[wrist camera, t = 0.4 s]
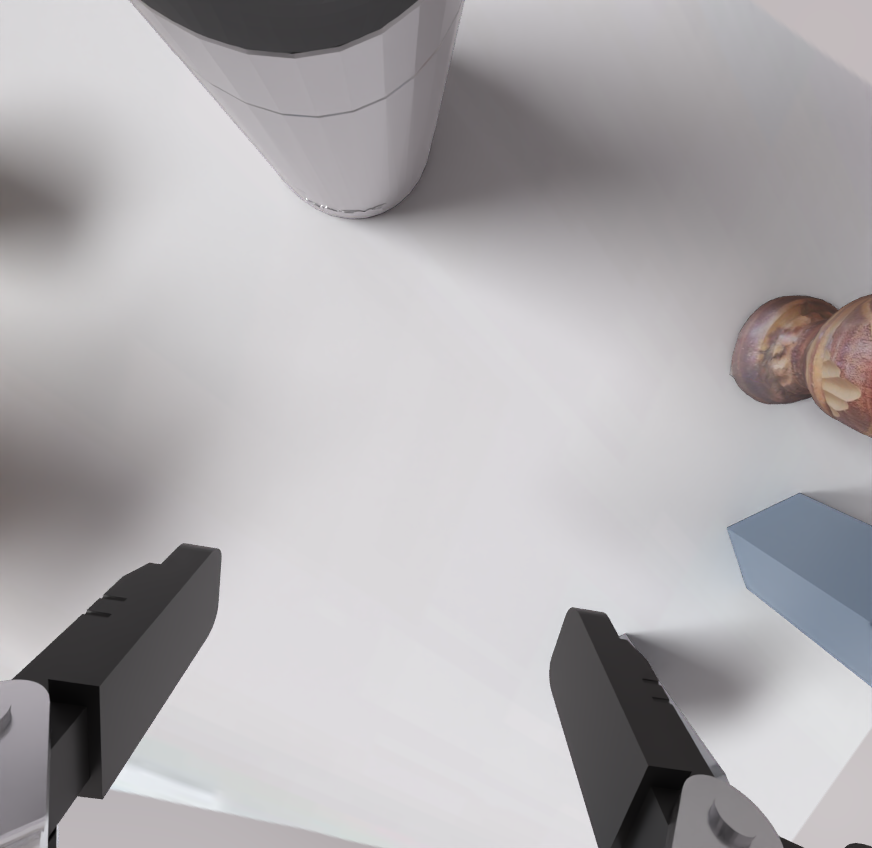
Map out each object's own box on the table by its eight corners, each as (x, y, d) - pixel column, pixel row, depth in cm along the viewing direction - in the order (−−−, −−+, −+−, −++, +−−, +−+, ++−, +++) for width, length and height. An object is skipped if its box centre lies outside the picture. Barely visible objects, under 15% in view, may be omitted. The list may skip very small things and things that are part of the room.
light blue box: (726, 527, 34) (880, 628, 23) (799, 492, 33) (988, 578, 23) (746, 587, 35) (898, 708, 25) (816, 555, 35) (999, 662, 24)
